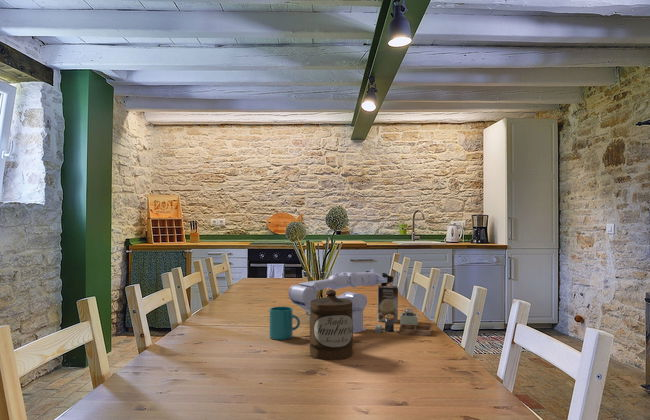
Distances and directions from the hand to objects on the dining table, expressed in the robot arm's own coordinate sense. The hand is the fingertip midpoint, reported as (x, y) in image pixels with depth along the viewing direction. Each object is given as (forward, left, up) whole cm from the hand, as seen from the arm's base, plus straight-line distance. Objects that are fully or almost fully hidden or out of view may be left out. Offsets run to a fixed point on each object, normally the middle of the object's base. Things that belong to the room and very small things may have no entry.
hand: (385, 278), depth 205 cm
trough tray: (-6, -20, -20) cm, 29 cm away
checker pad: (-13, -10, -20) cm, 26 cm away
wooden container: (-51, -14, -21) cm, 56 cm away
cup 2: (+3, -10, -20) cm, 23 cm away
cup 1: (-48, +14, -21) cm, 54 cm away
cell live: (-12, -11, -20) cm, 25 cm away
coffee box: (+3, +2, -21) cm, 21 cm away
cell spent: (+3, -10, -20) cm, 22 cm away
